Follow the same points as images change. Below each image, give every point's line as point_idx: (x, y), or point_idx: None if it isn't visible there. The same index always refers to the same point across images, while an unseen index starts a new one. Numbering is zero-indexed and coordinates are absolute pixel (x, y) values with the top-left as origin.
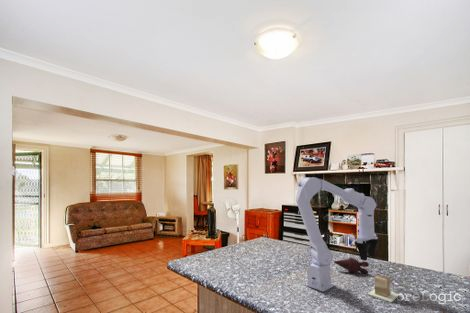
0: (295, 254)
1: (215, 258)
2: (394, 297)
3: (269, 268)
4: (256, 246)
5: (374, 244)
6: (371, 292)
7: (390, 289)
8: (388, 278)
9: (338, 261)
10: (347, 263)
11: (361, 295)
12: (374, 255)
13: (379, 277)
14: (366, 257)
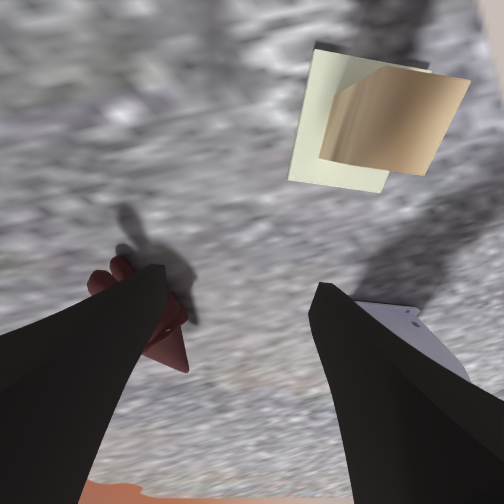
0: (155, 434)
1: (320, 482)
2: (369, 66)
3: (311, 427)
4: (183, 482)
5: (52, 386)
6: (359, 182)
7: (345, 89)
8: (415, 72)
9: (180, 364)
10: (172, 338)
11: (388, 209)
12: (148, 269)
13: (419, 143)
14: (350, 298)
